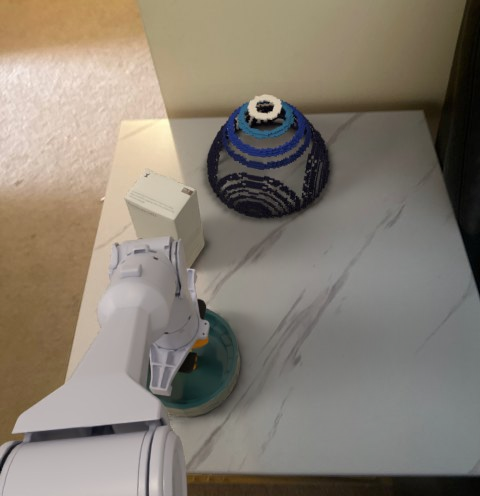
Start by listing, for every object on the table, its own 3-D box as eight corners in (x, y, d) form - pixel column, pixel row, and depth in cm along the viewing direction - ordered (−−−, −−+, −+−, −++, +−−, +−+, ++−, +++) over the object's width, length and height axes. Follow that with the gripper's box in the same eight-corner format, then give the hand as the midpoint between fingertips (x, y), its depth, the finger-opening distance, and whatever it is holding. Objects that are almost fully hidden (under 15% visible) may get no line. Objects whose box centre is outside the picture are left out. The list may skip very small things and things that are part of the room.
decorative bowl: (317, 228, 86) (321, 171, 74) (193, 205, 90) (179, 148, 79) (338, 132, 97) (344, 69, 86) (227, 116, 101) (219, 54, 90)
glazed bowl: (231, 425, 70) (228, 416, 66) (129, 409, 72) (121, 400, 69) (247, 324, 77) (245, 312, 74) (155, 312, 79) (149, 300, 76)
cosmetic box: (142, 254, 85) (118, 198, 74) (163, 223, 88) (143, 165, 77) (189, 276, 83) (172, 221, 71) (209, 243, 86) (196, 186, 74)
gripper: (188, 382, 55) (205, 418, 66) (215, 253, 64) (226, 304, 75) (120, 372, 57) (148, 409, 67) (156, 247, 65) (175, 297, 76)
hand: (185, 353), depth 71 cm, fingers closed on toy figure, 3 cm apart
